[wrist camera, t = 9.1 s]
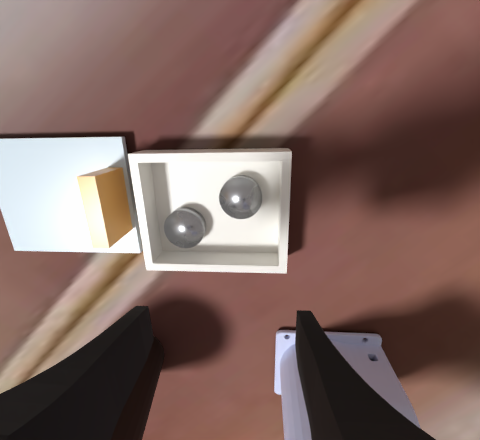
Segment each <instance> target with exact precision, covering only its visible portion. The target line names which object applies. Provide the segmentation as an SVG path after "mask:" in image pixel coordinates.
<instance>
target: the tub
mask: <svg viewBox="0 0 480 440" xmlns="http://www.w3.org/2000/svg"><path fill="white" fill-rule="evenodd" d="M128 159H129V165H130V171H131V177H132V184H133V190H134V196H135V202H136V209H137V215H138V221H139V227H140V234H141V240H142V246H143V252H144V259H145V265H146V270H163V271H206V272H250V273H287V254H288V231H289V208H290V185H291V162H292V151H291V150H290V149H289V148H251V149H182V150H142V151H138V152H134V153H129V154H128ZM237 175H246V176H249V177H251V178H253V179H254V180H255V181H256V182H257V183H258V184H259V186H260V188H261V191H262V204H261V207H260V209H259V210H258V212H257V213H256V214H255V215H253V216H252V217H250V218H247V219H235V218H232V217H230V216H229V215H227V214H226V213H225V212H224V211H223V209H222V208H221V205H220V202H219V194H220V191H221V188H222V187H223V185H224V184H225V182H226V181H227V180H228V179H230V178H231V177H234V176H237ZM180 207H191V208H194V209H196V210H197V211H199V212H200V213H201V214H202V215H203V217H204V219H205V221H206V232H205V235H204V236H203V238H202V240H201V241H200V243H199V244H198V245H196V246H194V247H192V248H181V247H178V246H176V245H174V244H172V243H171V242H170V241H169V240H168V238H167V237H166V235H165V232H164V223H165V220H166V218H167V217H168V216H169V215H170V214H171V213H172V212H173V211H174V210H176V209H177V208H180Z"/></svg>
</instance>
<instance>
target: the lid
mask: <svg viewBox="0 0 480 440" xmlns="http://www.w3.org/2000/svg"><path fill="white" fill-rule="evenodd" d="M0 208H1V211H2V214H3V217H4V220H5V223H6V226H7V229H8V232H9V235H10V238H11V241H12V244H13V247H14V250H15V251H57V252H108V253H141V252H142V251H143V250H142V243H141V237H140V231H139V224H138V218H137V211H136V205H135V199H134V192H133V186H132V180H131V173H130V167H129V161H128V154H127V148H126V142H125V137H65V138H4V139H0Z"/></svg>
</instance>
